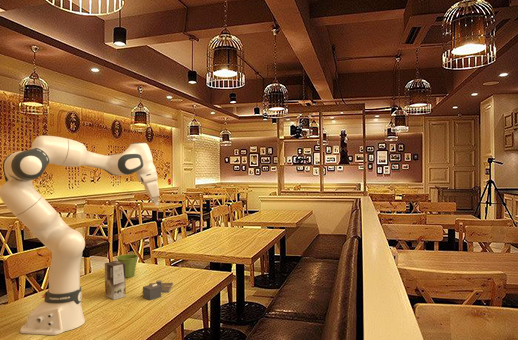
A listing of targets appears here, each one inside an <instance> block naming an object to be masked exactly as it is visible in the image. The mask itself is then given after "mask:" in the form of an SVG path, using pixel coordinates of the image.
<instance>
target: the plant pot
mask: <svg viewBox="0 0 520 340" xmlns="http://www.w3.org/2000/svg"><path fill="white" fill-rule="evenodd" d="M138 258H139V255H138V254H134V253H133V254H132V253H130V254H129V253H128V254H127V253H126V254H120V255H118V256H117V257H116V259H117V261H119V262H122V263H125V279H127V278H133V277H134V276H135V273H136V268H137V262H138Z"/></svg>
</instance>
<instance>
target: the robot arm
mask: <svg viewBox="0 0 520 340" xmlns="http://www.w3.org/2000/svg"><path fill="white" fill-rule="evenodd" d="M153 160H154V157H153V155H152V152H151V149H150V146H149V144H148V143H146V142H143V141H141V142H140V141H139V142H131V143H130V144H129V146H128V147H127V148H126V150H124V151H123V152H122V153H114V154H113V153H112V154H109V155H106V154H100V153H95V152H92V151H89V150H88V149H87V147H86V145H85V144H84V143H82V142H79V141H76V140H74V139H72V138H68V137H67V138H65V137H61V136H54V135H38V136H37V137H36V138H35V139H34V140H33V141H32V144H31V146H30V148H29V149H28V150H20V151H16V152H12V153H10V154H8V155H7V156H6V157H5V159H4V160H3V162H2V170H3V175H4V180H5V183H3V184H2V186H1V187H0V199H1V201H2V203H3V204H4V205H5V207H6V208H7V209H8V210H9V211H10V212H11V214H13V215H14V216H15V217H16V218H17V219H18V220H19V221H20V222H21V223H22V224H23V225H24V226H25V227H26V228H27V229H28V230H29V231H30V232H31V233H32V234H33V236H35V237H36V238H37V239H38V240H39V242H41V243H42V244H43V246H45V247H46V248H47V249H48V250H49V251H50V252H51V260H50V261H51V262H50V267H49V270H48V289H47V291H45V292H44V294H42V295H41V296H42V297H41V298H42V299H44V300H42V301H41V302H40V304H38V305H37V306H35V308H33V309H32V310H31V311H30V312H29V314H28V317H27V321H26V322H25V323H24V324H23V325H22V326H21V327H20V330H19V331H20V334H28V335H45V336H46V335H47V336H48V335H49V336H56V335H59V334H61V333H64V332H68V331H71V330H75V329H77V328H79V327H81V326H82V325H84V324H85V323H86V319H85V316H84V311H83V307H82V301H83V300H82V299H83V293H82V286H81V262H82V258H83V251H84V250H85V247H86V241H85V238H84V236H83V234H82V233H81V232H80V231H78V230H77V229H74V228H72V227H70V226H69V225H68V224H67V223H66V222H65V221H64V219H63V217H61V216H60V215H59V213H58V212H57V210H56V209H55V208H54V206H52V205H51V204H50V203H49V202H48V200H46V199H45V197H43V195H41V193H40V192H39V191H37V190H36V188H35V187H34V184H33V181H34V180H36V179H38V178H39V177H41V176H42V175H43V174H44V172H45V170H46V169H47V167H48V164H49V165H56V166H62V167H71V168H72V167H74V168H75V167H77V168H78V167H81V166H83V167H84V166H86V167H91V168H95V169H101V170H102V171H105V172H106V173H108V174H109V175H111V176H116V177H117V176H129V175H132V174H134V173H136V177H137V180H138V182H139V183H141V184H142V185H143V186H144V190H145V192H146V194H148V196H149V198H150V201H151V203H153V205H154V206H155V207H157V206H159V205H160V204H159V197H160V190H159V189H160V188H159V184H158V179H159V178H158V172H157V168H156V166H155V164H154V162H153Z"/></svg>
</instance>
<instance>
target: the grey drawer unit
mask: <svg viewBox="0 0 520 340" xmlns="http://www.w3.org/2000/svg"><path fill="white" fill-rule="evenodd" d="M161 297H162V293H161V286H159V285H157V284H151V285H149V284H148V285H144V286H142V298H143V299H146V300H148V301H152V300H156V299H159V298H161Z"/></svg>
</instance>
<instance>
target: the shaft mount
mask: <svg viewBox="0 0 520 340" xmlns="http://www.w3.org/2000/svg"><path fill="white" fill-rule="evenodd" d="M151 284H157V285H159V286H161V294H162V293H165V294H166V293H170V291H171V289H172V288H173V285H174V282H163V280H162V279H156V282H151V283H149V284H148V285H151Z"/></svg>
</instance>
